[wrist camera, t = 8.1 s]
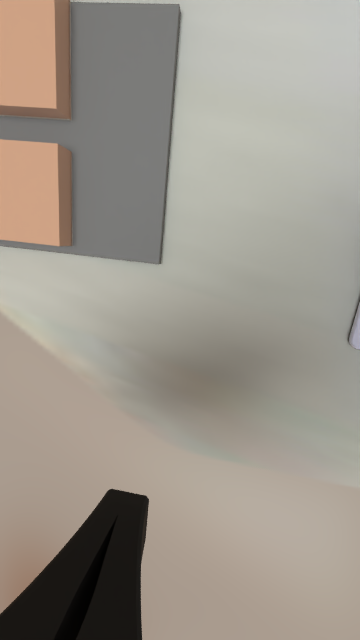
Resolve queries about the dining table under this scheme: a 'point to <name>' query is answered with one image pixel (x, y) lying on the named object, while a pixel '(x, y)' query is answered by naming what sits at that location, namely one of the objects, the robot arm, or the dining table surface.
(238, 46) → the dining table surface
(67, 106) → the tile
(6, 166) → the tile
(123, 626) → the robot arm
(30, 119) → the mat
